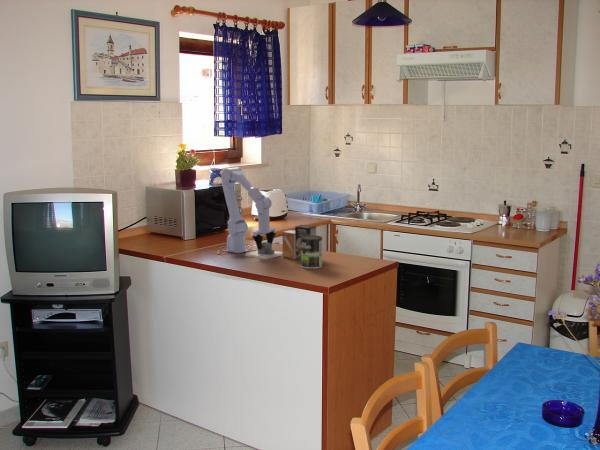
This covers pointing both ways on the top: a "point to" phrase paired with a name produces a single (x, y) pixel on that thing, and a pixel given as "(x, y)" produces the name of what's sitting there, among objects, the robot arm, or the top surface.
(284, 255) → the small box
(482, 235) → the top surface
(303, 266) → the coffee can
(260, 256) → the pin plate
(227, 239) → the robot arm
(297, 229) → the coffee box
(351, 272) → the top surface
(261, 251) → the jaw block
